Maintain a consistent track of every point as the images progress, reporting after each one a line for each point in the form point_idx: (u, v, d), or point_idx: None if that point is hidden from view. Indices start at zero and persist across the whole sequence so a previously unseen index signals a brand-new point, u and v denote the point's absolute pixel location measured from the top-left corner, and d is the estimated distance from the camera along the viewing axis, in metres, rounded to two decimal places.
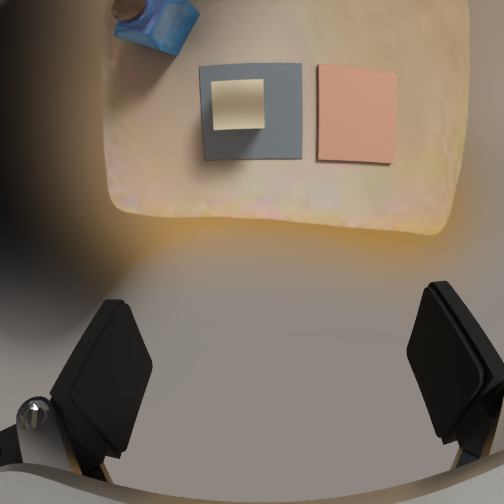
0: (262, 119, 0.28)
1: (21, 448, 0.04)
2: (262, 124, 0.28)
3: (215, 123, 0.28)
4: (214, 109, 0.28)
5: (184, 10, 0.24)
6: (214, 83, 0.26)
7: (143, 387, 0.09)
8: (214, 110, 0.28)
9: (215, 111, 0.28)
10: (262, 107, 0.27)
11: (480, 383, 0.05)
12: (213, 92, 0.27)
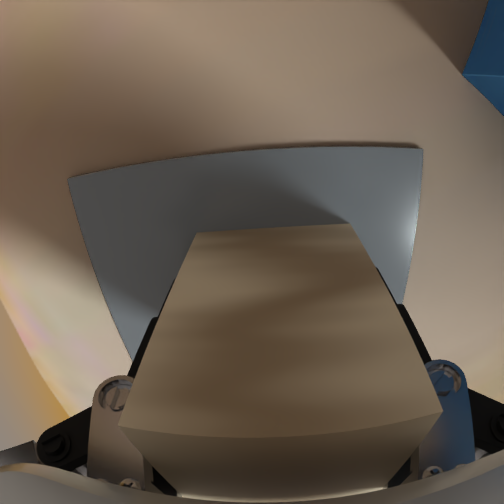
0: None
1: (91, 427, 0.05)
2: None
3: (160, 436, 0.04)
4: (254, 444, 0.04)
5: None
6: (425, 426, 0.04)
7: None
8: (247, 442, 0.04)
9: (240, 444, 0.04)
10: None
11: None
12: (373, 432, 0.04)
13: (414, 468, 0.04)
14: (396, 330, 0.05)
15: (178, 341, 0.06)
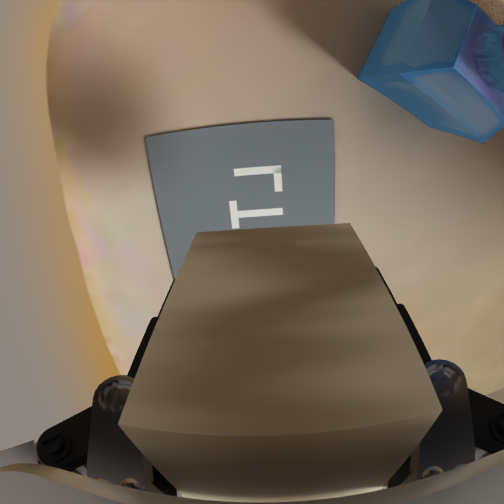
0: None
1: (91, 427, 0.05)
2: None
3: (161, 434, 0.04)
4: (254, 442, 0.04)
5: (465, 130, 0.12)
6: (424, 424, 0.04)
7: None
8: (247, 441, 0.04)
9: (240, 442, 0.04)
10: None
11: None
12: (373, 431, 0.04)
13: (414, 468, 0.04)
14: (396, 329, 0.05)
15: (178, 340, 0.06)
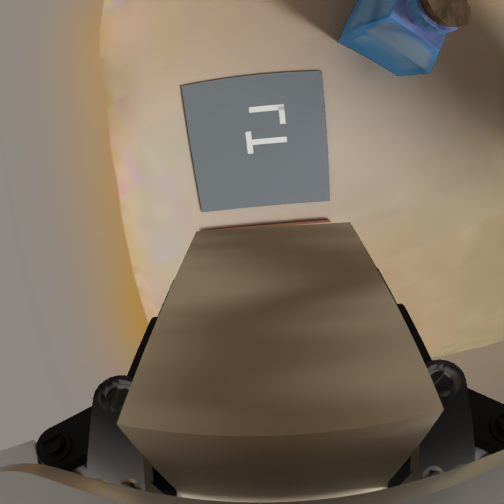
0: None
1: (91, 427, 0.05)
2: None
3: (160, 434, 0.04)
4: (254, 442, 0.04)
5: (415, 65, 0.17)
6: (426, 424, 0.04)
7: None
8: (246, 441, 0.04)
9: (240, 442, 0.04)
10: None
11: None
12: (374, 431, 0.04)
13: (414, 468, 0.04)
14: (396, 328, 0.05)
15: (178, 339, 0.06)
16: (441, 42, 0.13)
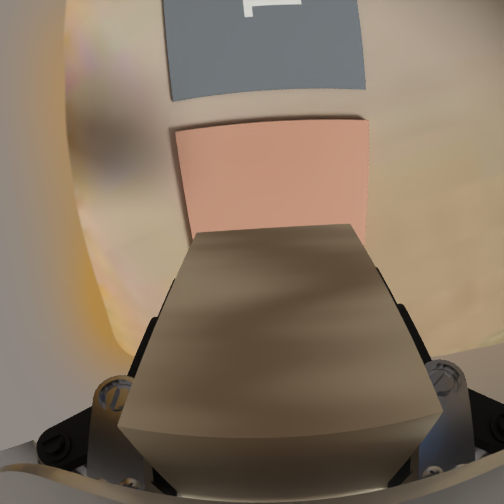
0: None
1: (91, 427, 0.05)
2: None
3: (160, 436, 0.04)
4: (254, 444, 0.04)
5: None
6: (425, 426, 0.04)
7: None
8: (246, 443, 0.04)
9: (240, 444, 0.04)
10: None
11: None
12: (373, 432, 0.04)
13: (414, 468, 0.04)
14: (396, 330, 0.05)
15: (178, 341, 0.06)
16: None
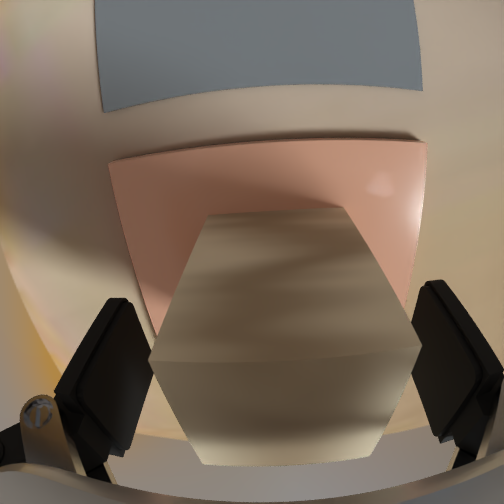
0: (231, 463, 0.07)
1: (24, 446, 0.04)
2: (214, 463, 0.07)
3: (185, 368, 0.05)
4: (265, 369, 0.05)
5: None
6: (408, 360, 0.05)
7: (146, 385, 0.09)
8: (259, 368, 0.05)
9: (253, 371, 0.05)
10: (273, 464, 0.07)
11: (476, 381, 0.05)
12: (363, 361, 0.05)
13: None
14: (381, 285, 0.07)
15: (198, 295, 0.07)
16: None
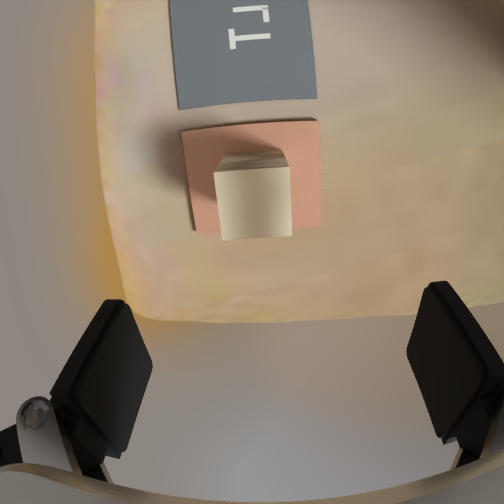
0: (234, 237, 0.22)
1: (21, 448, 0.04)
2: (227, 237, 0.22)
3: (223, 174, 0.20)
4: (245, 172, 0.20)
5: None
6: (286, 171, 0.20)
7: (143, 387, 0.09)
8: (244, 172, 0.20)
9: (242, 174, 0.20)
10: (251, 236, 0.22)
11: (480, 383, 0.05)
12: (272, 170, 0.20)
13: None
14: (283, 161, 0.21)
15: (225, 165, 0.22)
16: None
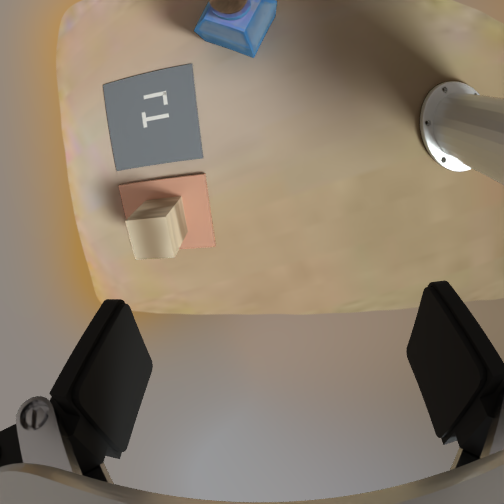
0: (141, 258, 0.35)
1: (21, 448, 0.04)
2: (137, 258, 0.35)
3: (130, 222, 0.33)
4: (141, 220, 0.32)
5: (241, 47, 0.25)
6: (164, 219, 0.32)
7: (143, 387, 0.09)
8: (141, 220, 0.32)
9: (140, 221, 0.32)
10: (151, 257, 0.35)
11: (480, 383, 0.05)
12: (156, 219, 0.32)
13: None
14: (168, 210, 0.34)
15: (136, 213, 0.34)
16: (246, 25, 0.22)
